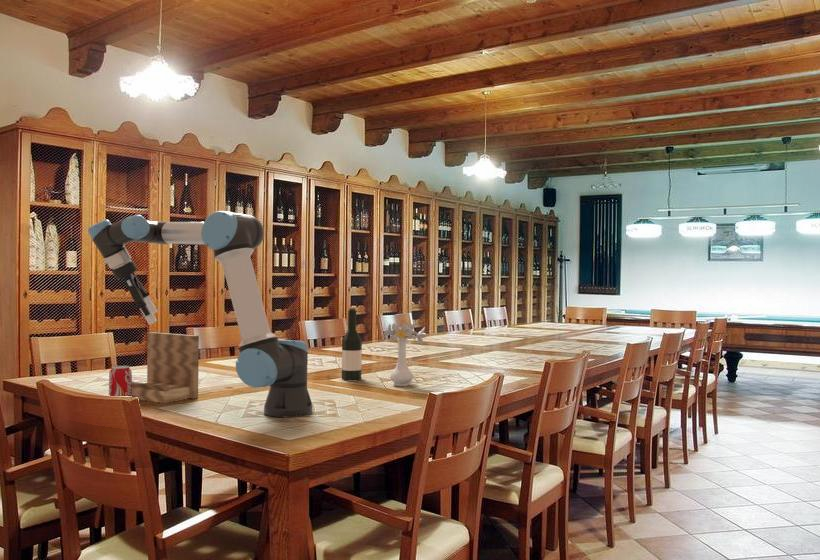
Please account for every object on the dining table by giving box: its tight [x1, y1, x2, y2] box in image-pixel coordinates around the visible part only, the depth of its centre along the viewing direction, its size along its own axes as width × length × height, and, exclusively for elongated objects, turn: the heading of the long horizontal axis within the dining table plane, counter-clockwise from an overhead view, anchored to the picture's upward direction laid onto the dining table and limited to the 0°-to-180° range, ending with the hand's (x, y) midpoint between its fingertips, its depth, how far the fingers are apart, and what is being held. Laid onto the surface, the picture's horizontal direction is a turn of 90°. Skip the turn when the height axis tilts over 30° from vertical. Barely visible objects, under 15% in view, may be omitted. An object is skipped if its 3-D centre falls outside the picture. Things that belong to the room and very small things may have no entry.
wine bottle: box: [341, 307, 363, 381], centre depth 269 cm, size 8×8×30 cm
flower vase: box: [381, 322, 427, 387], centre depth 257 cm, size 13×18×25 cm
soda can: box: [108, 365, 133, 396], centre depth 216 cm, size 7×7×12 cm
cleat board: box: [132, 331, 200, 404], centre depth 224 cm, size 24×12×22 cm, turn 61°
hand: (153, 318), depth 221 cm, fingers open, 13 cm apart
